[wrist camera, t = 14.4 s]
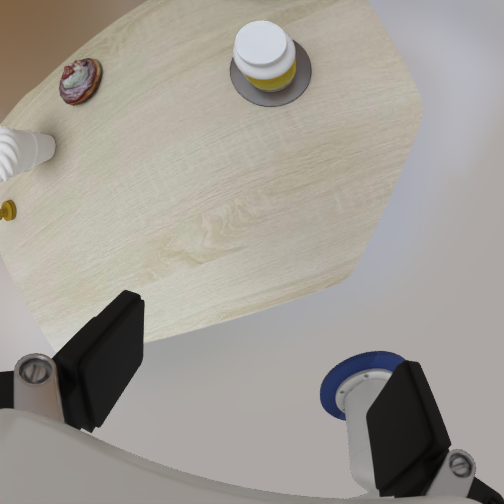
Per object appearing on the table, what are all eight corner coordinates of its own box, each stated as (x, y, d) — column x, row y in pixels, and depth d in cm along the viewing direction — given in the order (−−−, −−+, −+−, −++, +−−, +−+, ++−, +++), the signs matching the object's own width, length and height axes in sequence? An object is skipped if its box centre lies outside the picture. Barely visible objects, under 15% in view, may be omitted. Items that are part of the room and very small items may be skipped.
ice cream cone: (29, 136, 39) (-41, 147, 25) (58, 114, 38) (-18, 116, 23) (40, 179, 42) (-31, 200, 27) (69, 159, 40) (-7, 175, 25)
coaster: (318, 44, 31) (318, 43, 30) (301, 114, 34) (301, 114, 34) (240, 30, 31) (239, 29, 31) (222, 98, 35) (222, 98, 34)
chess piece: (15, 222, 46) (-3, 229, 41) (5, 214, 46) (-13, 221, 41) (17, 204, 44) (-1, 211, 40) (6, 196, 44) (-11, 202, 40)
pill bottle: (306, 72, 32) (310, 44, 22) (268, 102, 34) (257, 85, 24) (272, 39, 31) (263, 2, 20) (235, 68, 33) (212, 42, 22)
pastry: (101, 51, 34) (81, 44, 29) (106, 93, 36) (85, 90, 31) (63, 72, 35) (43, 69, 30) (67, 112, 37) (46, 112, 33)
